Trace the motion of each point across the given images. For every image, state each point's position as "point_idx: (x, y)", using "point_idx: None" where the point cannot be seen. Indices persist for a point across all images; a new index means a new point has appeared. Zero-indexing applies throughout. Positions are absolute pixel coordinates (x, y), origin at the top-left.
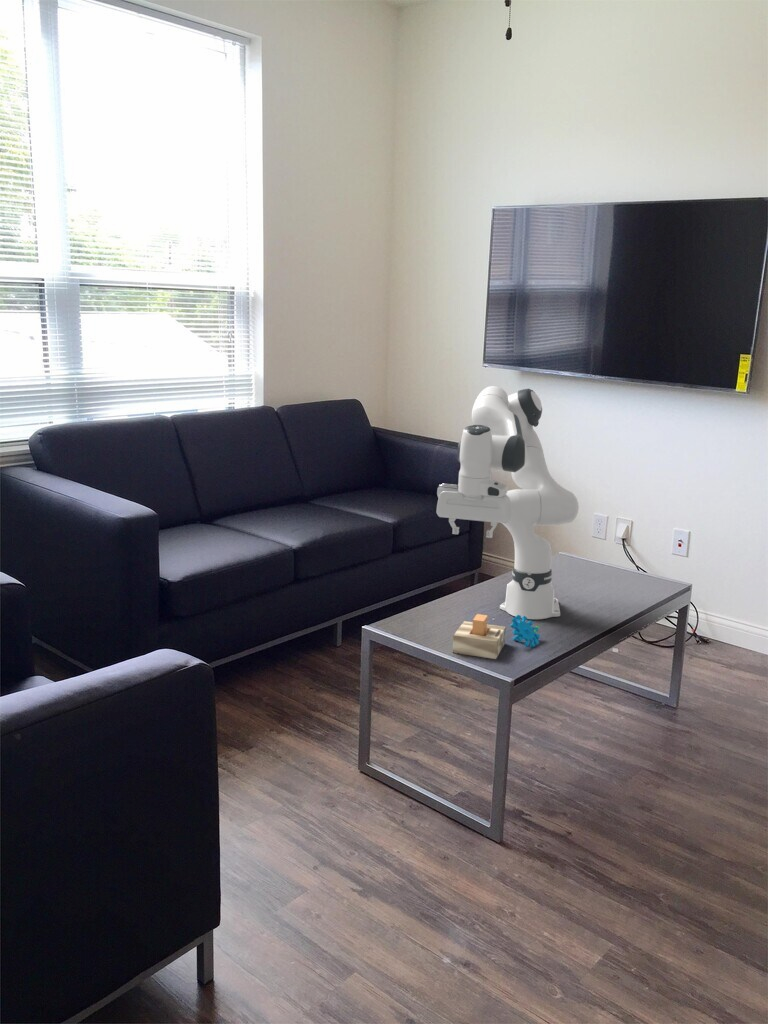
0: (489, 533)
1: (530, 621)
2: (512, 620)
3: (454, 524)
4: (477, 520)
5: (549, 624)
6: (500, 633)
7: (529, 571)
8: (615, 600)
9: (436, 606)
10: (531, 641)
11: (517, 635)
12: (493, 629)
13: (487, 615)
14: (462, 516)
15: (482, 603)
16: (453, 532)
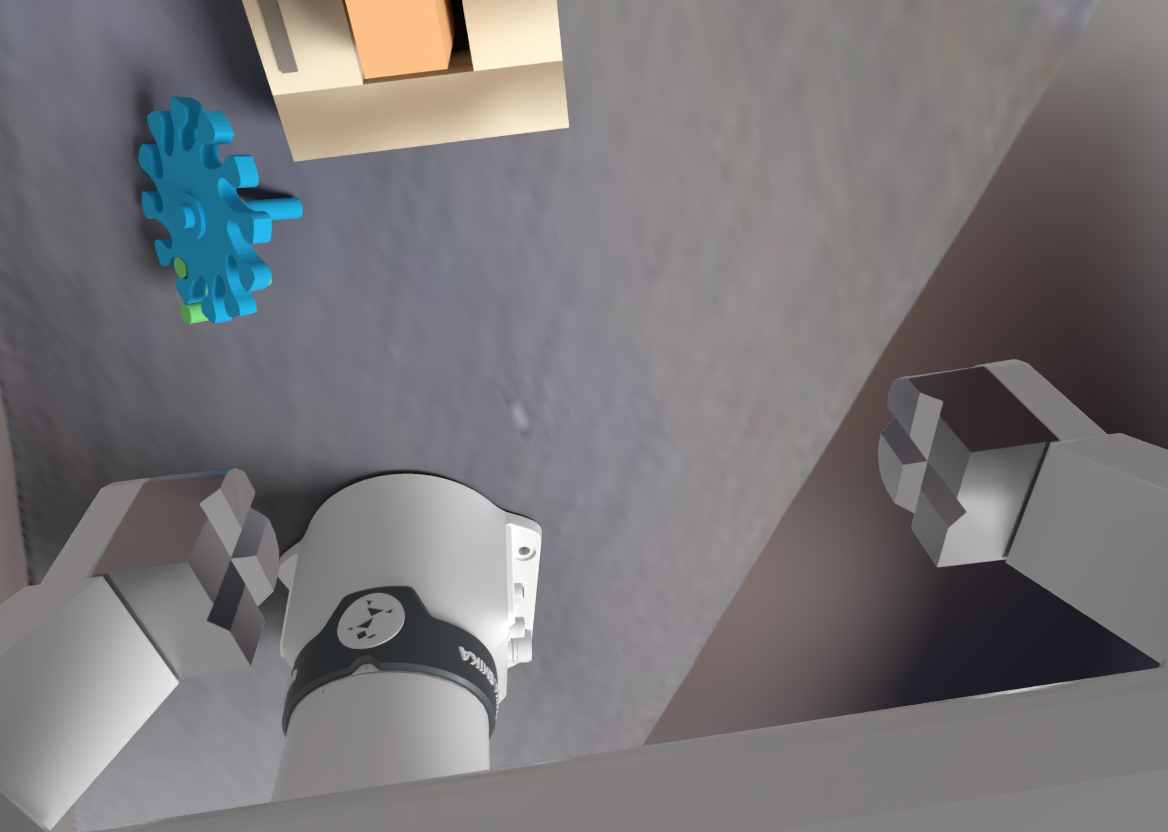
0: (110, 538)
1: (212, 309)
2: (262, 213)
3: (1099, 565)
4: (370, 787)
5: (267, 471)
6: (254, 13)
7: (363, 683)
8: (198, 757)
9: (805, 429)
10: (162, 176)
11: (264, 205)
12: (335, 70)
13: (365, 77)
14: (1117, 792)
15: (626, 541)
16: (1008, 373)
